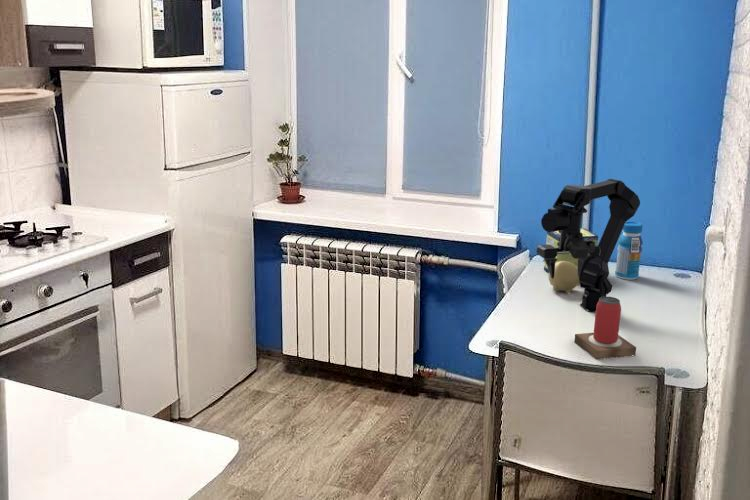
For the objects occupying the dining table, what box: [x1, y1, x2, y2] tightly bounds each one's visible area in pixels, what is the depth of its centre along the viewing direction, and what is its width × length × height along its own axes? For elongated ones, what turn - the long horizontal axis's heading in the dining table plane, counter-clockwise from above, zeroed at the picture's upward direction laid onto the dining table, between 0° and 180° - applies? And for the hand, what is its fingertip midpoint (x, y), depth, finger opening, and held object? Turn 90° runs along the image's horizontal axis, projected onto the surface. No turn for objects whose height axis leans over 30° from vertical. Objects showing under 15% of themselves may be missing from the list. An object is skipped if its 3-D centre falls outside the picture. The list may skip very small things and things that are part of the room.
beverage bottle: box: [614, 220, 644, 281], centre depth 275 cm, size 8×8×20 cm
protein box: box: [543, 227, 599, 274], centre depth 278 cm, size 10×16×16 cm
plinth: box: [573, 332, 637, 360], centre depth 214 cm, size 12×12×3 cm
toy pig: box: [547, 261, 580, 294], centre depth 260 cm, size 10×12×11 cm
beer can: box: [592, 296, 622, 344], centre depth 212 cm, size 7×7×12 cm
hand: (565, 277), depth 233 cm, fingers open, 9 cm apart
